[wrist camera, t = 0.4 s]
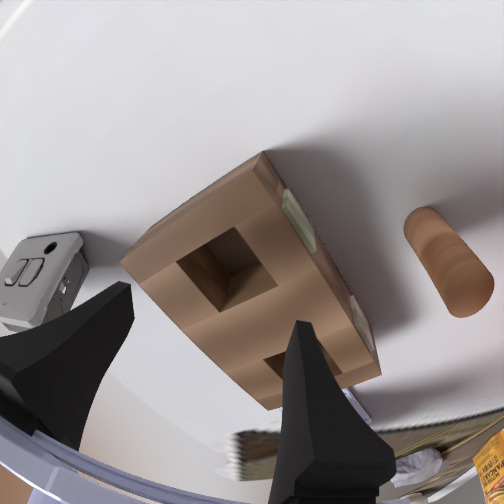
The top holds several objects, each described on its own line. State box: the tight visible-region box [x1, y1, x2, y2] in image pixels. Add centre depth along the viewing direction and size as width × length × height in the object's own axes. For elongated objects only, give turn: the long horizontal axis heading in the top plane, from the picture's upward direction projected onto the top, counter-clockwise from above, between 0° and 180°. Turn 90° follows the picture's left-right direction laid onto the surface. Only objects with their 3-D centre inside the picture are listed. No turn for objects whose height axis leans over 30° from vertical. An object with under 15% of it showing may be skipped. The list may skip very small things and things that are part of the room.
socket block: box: [119, 151, 382, 410], centre depth 21 cm, size 17×10×5 cm, turn 34°
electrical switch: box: [0, 232, 90, 332], centre depth 22 cm, size 9×5×9 cm, turn 97°
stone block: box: [391, 448, 443, 488], centre depth 38 cm, size 12×5×10 cm
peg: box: [404, 207, 494, 318], centre depth 16 cm, size 3×3×8 cm
